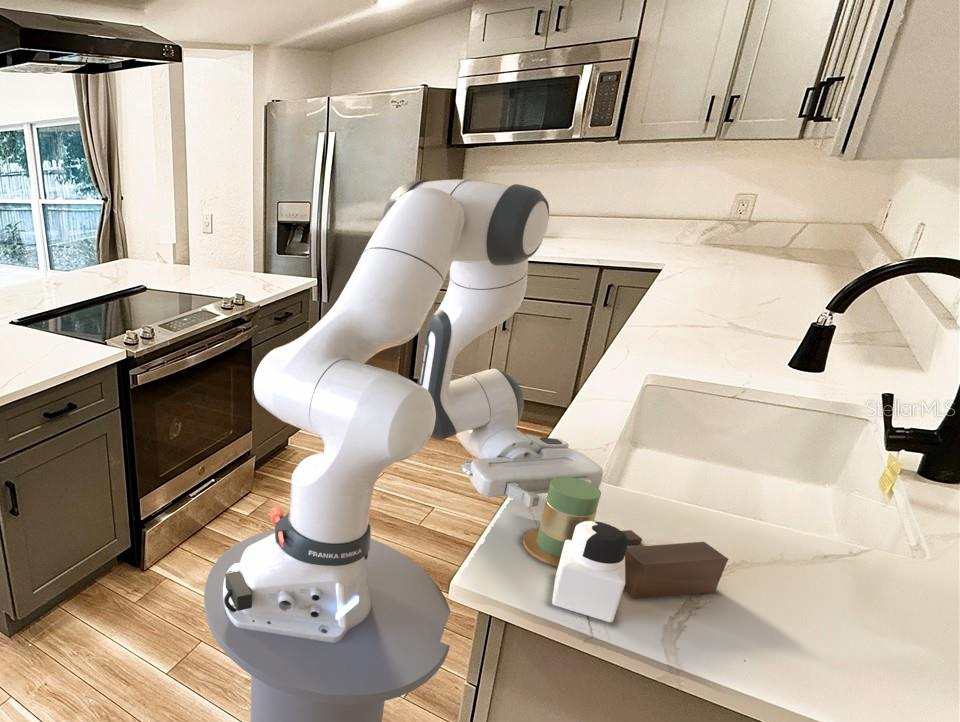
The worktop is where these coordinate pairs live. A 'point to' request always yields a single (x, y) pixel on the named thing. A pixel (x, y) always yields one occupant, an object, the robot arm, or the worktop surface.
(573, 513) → the tin can
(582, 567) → the medicine bottle
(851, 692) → the worktop surface
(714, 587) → the brown rectangular block
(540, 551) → the cork coaster
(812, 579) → the worktop surface
